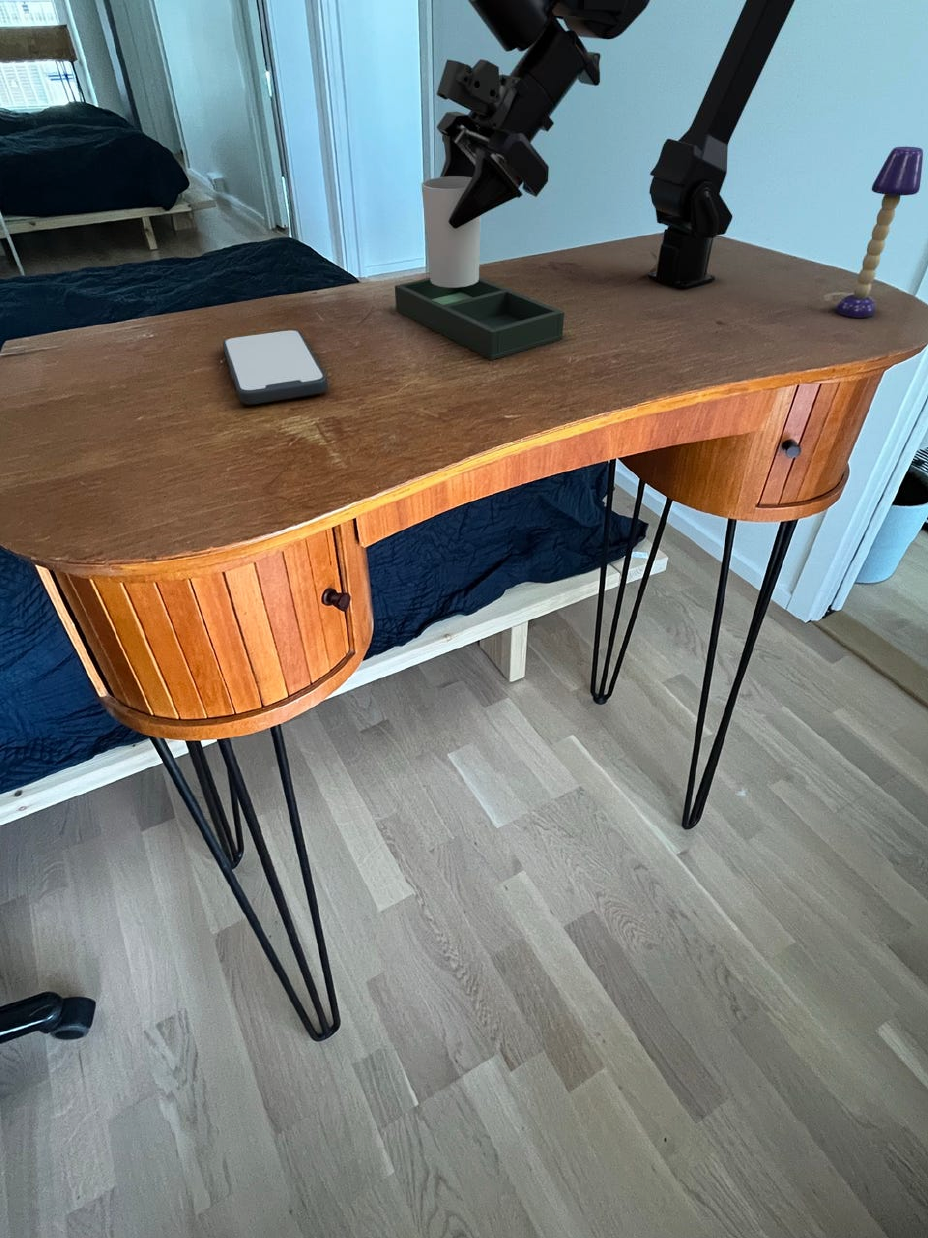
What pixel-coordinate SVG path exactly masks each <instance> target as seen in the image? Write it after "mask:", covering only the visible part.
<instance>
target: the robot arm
mask: <svg viewBox="0 0 928 1238" xmlns="http://www.w3.org/2000/svg"><path fill="white" fill-rule="evenodd" d="M467 1H468V3H469V5H471V7H472V8H473V9H474V12H475V13H477V15H478V16H479V17H480V19H481V21H482V22H483V23H484V24H485V26H486V28H488V30H489V31H490V33H491V34H492V35H493V37H494V38H495V39H496V41H497V42H498V44H499V46H501V48H502V49H503V50H504V51H505V52H512V51H514V50H517V51H518V52H520V53H521V52H524V51H525V53H524V54H523V55H522V57H521V58H520V59H519V61H518V62H517V63H516V65H515V66H514V68H513V69H512V71H511V72H510V74H509V75H508V74H500V67H499V66H498V65H496V64H494V63H493V62H491V61H489V60H487V59H478V60H477V62H476V63H475V64H474V65H473V66H471V65H469V64H467V63H463V62H461V61H459V60H454V59H453V60H452V59H447V58H446V61H445V65H444V68H443V71H442V75H441V77H440V80H439V84H438V86H437V91H436V96H437V97H439V98H441V99H443V100H445V101H446V100H449V101H452V102H454V103H456V104H457V105H459V106H461V107H463V108H465V109H467V110H469V112H468V114H466V113H463V112H459V111H448V112H447V111H446V112H445V113H444V115H443V116H442V118H441V119H440V121H439V122H438V124H437V126H436V129H437V130H438V132H439V133H440V134H441V135H442V136H441V141H442V143H443V148H444V156H445V159H444V164H443V167H442V170H441V172H440V176H439V177H449V176H462V177H472V179H471V181H470V182H469V184H468V186H467V188H466V189H465V191H464V193H463V195H462V196H461V198H460V200H459V202H458V204H457V205H456V207H455V209H454V211H453V213H452V215H451V217H450V219H449V224H450V225H451V226H452V227H453V228H455V229H457V228H459V227H460V226H462V225H464V224H466V223H468V222H470V221H471V220H473V219H475V218H477V217H479V216H480V215H481V216H482V215H484V214H485V213H486V214H487V212H490V211H491V210H494V209H496V208H498V207H500V206H502V205H504V204H506V203H508V202H510V201H512V200H513V199H514V200H515V199H517V198H518V199H520V198H522V196H523V192H522V191H521V190H520V187H521V186H522V187H521V188H522V190H523V191H524V193H527V194H529V195H531V196H533V197H535V198H537V197H538V195H540V193H541V191H542V190H543V189H544V187H545V186H546V185H547V184H548V182H549V171H550V166H549V165H548V164H547V162H546V161H545V160H544V159H543V157H542V156H541V155H540V153H539V152H538V151H537V149H536V148H535V147H534V146H533V144H531V143H532V142H533V141H534V139H535V138H536V136H537V135H538V134H539V132H540V131H544V132H547V133H548V132H549V131H550V129H552V127H553V126H554V124H555V122H554V121H553V120H552V118H551V116H552V115H553V113H554V112H555V111H556V110H557V108H558V106H559V105H560V103H562V101H563V100H564V99H565V97H566V96H567V94H568V93H569V92H570V91H571V89H572V87H573V86H574V85H575V83H576V82H577V81H578V82H579V83H580V84H584V85H589V86H594V87H597V86H599V85H600V83H601V70H600V61H601V57H602V55H601V54H600V53H599V52H594V51H589V50H588V49H587V48H586V46H585V45H584V43H583V41H582V40H581V38H587V39H588V38H589V39H597V40H598V39H599V40H614V39H615V38H618V37H619V36H621V35H622V34H623V33H624V32H626V31H627V30H628V28H630V26H631V25H632V24H633V23H634V22H635V20H637V19H638V17H639V16H640V15H641V14H642V13H643V12H644V11H645V10H646V8H647V7H648V6H649V3H650V2H651V0H467ZM795 1H796V0H745V3H744V4H743V7H742V9H741V11H740V13H739V15H738V18H737V20H736V23H735V25H734V27H733V29H732V32H731V34H730V36H729V39H728V41H727V43H726V45H725V47H724V50H723V52H722V55H721V57H720V59H719V62H718V64H717V66H716V69H715V71H714V73H713V75H712V77H711V80H710V82H709V85H708V86H707V89H706V91H705V94H704V96H703V97H702V100H701V102H700V104H699V107H698V109H697V112H696V114H695V116H694V119H693V120H692V123H691V124H690V126H689V128H688V130H687V131H686V132H685V133H684V134H683V135H682V136H681V137H680V138H679V139H678V140H675V139H672V138H667V139H666V140H665V142H664V143H663V145H662V148H661V151H660V154H659V157H658V160H657V162H656V164H655V166H654V167H653V168H652V170H651V171H650V173H649V175H650V176H651V177H652V179H651V182H650V185H649V192H648V193H649V195H650V199H651V204H652V205H653V207H654V209H655V216H656V223H657V224H659V225H664V226H666V227H667V228H665V229H664V230H663V231H664V232H663V238H662V243H660V249H659V254H658V259H657V260H658V261H657V267H656V271H653V272H652V271H651V272H649V273H647V274H648V275H647V278H649V279H651V280H654V281H657V282H660V283H662V284H666V285H669V286H673V287H675V288H678V289H682V290H683V289H690V288H692V287H696V286H699V285H703V284H706V283H710V282H713V281H715V279H716V275H713V274H710V273H707V272H708V267H709V262H710V259H711V252H712V249H713V242H714V238H716V237H718V236H723V235H725V234H726V233H727V231H728V229H729V226H730V225H731V222H732V220H733V213H732V212H731V211H730V209H729V207H728V206H727V204H726V202H725V200H724V198H723V197H722V196H721V191H722V189H723V185H724V182H725V180H726V177H727V174H728V154H729V153H728V148H729V143H730V141H731V139H732V136H733V134H734V131H735V129H736V127H737V126H738V124H739V122H740V119H741V117H742V115H743V112H744V110H745V108H746V106H747V104H748V101H749V99H750V98H751V95H752V93H753V91H754V90H755V87H756V85H757V83H758V80H759V78H760V77H761V74H762V72H763V69H764V68H765V65H766V64H767V61H768V60H769V57H770V55H771V52H772V50H773V48H774V46H775V44H776V42H777V40H778V39H779V38H778V37H779V36H780V33H781V31H782V30H783V27H784V25H785V22H786V20H787V18H788V16H789V14H790V12H791V9H792V7H793V5H794V3H795ZM559 20H562V21H563V22H564V25H565V27H566V29H567V30H565V28H564V26H563V25H562V24H561V23H560V21H559Z"/></svg>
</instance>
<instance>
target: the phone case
mask: <svg viewBox="0 0 928 1238" xmlns="http://www.w3.org/2000/svg"><path fill="white" fill-rule="evenodd" d="M222 349H223V353H224V356H225V359H226V362H227V365H228V368H229V374H230V378H231V381H232V383H233V384H234V387H235V390H236V393H237V397H238V399H239V401H240V402H241V403H242V404H245V405H249V406H251V405H259V404H265V403H266V404H267V403H271V402H278V401H283V400H290V399H297V398H302V397H309V396H315V395H321V394H324V393H325V392H326V391H328V389H329V383H328V376H327V375H326V373H325V371H324V370H323V368H322V366H321V365H320V362H319V360H318V359H317V358H316V356H315V355H314V352H313V351H312V350H311V347H310V345H309V344H308V343H307V341H306V339H305V337H304V335H303V333H301V331H299V330H297V329H286V330H279V331H272V332H264V333H258V334H251V335H249V334H248V335H242V336H235V337H229V338H227V339H224V340H223V341H222Z"/></svg>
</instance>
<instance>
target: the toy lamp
mask: <svg viewBox="0 0 928 1238" xmlns="http://www.w3.org/2000/svg"><path fill="white" fill-rule="evenodd" d="M923 160H924V150H923V148H922V147H917V146H896V147H894V148H892V150H891V151H890V153H889V154H888V156H887V158H886V159H885V161H884V163H883V165H882V167H881V169H880V170H879V172H878V174H877V176H876V178H875V180H874V181H873V183H872V186H871V192H873V193H876V194H879V195H883V197H882V200H881V208H880V209H879V211H878V213H877V215H876V223H875V225H874V226H873V228H872V231H871V239H870V240H869V242H868V244H867V247H866V254H865V255H864V257H863V259H862V264H861V265H862V268H861V269H860V271H859V273H858V278H857V281H858V282H857V283H856V285H855V287H854V290H853V294H850V295H847V296H846V297H843V298H842V299H841V300H840V301H839V303H838V304H837V306H836V308H835V311H836V313H838V314H839V315H841V316H844V317H847V318H857V319H861V318H862V319H865V318H871V317H872V316H874V314H875V311H876V306H875V302H874V301H873V299H872V298H871V297H869V296H868V295H869V294H870V292H871V291H872V290H871V288H872V282H873V281H874V280H875V277H876V273H877V272H876V270H877V268H878V266H879V265H880V262H881V254H882V253H883V251H884V249H885V246H886V239H887V238H888V236H889V233H890V231H891V226H890V225H891V223H892V222H893V221H894V218H895V215H896V208H897V207H898V206H899V203H900V200H901V196H912V195H917V193H919V192H920V187H921V182H922V171H923Z"/></svg>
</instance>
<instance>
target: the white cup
mask: <svg viewBox="0 0 928 1238" xmlns="http://www.w3.org/2000/svg"><path fill="white" fill-rule="evenodd" d="M471 179H472V177H462V176H449V177H440V176H439V177H438V176H437V177H432V178H428V179H425V180H424V181H422V183H421V185H420V186H421V195H422V206H423V207H422V208H423V216H424V217H423V218H424V227H425V228H424V229H425V238H426V247H427V248H426V249H427V259H428V270H429V278H430V281H431V282H432V284H434V285H437V286H441V287H452V288H457V287H466V286H469V285H473V284H475V283H476V282H478V280H479V277H480V257H481V256H480V253H481V226H482V225H481V223H482V222H481V220H482V215H480V216H479V217H477V218H475V219H473V220H471V221H470V222H468V223H466V224H464V225H462V226H460V227H459V228H457V229H455V228H453V227H452V226H451V225H450V224H449V219H450V217H451V215H452V213H453V211H454V209H455V207H456V205H457V204H458V202H459V200H460V198H461V196H462V195H463V193H464V191H465V189H466V188H467V186H468V184H469V182H470V181H471Z"/></svg>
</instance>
